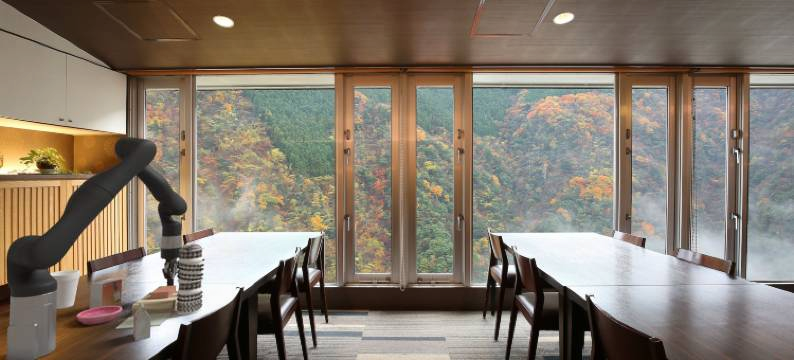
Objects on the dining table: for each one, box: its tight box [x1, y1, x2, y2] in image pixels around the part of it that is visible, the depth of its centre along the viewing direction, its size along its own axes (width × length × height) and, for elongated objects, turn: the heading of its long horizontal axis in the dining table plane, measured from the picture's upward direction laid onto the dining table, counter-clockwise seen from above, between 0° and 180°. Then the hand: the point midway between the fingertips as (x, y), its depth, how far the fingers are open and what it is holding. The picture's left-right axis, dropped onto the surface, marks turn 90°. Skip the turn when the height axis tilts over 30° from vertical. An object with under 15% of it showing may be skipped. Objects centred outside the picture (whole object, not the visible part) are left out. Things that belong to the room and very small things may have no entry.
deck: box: [131, 290, 178, 316], centre depth 139 cm, size 16×13×4 cm
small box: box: [89, 277, 123, 309], centre depth 138 cm, size 8×6×10 cm
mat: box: [115, 313, 173, 330], centre depth 125 cm, size 12×13×1 cm
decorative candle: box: [176, 244, 205, 316], centre depth 136 cm, size 9×9×25 cm
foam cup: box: [50, 269, 81, 310], centre depth 139 cm, size 10×9×13 cm
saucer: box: [76, 306, 123, 326], centre depth 126 cm, size 12×12×3 cm
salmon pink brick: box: [150, 285, 177, 299], centre depth 142 cm, size 9×6×2 cm, turn 15°
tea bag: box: [132, 302, 152, 342], centre depth 113 cm, size 4×7×10 cm, turn 42°
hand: (170, 287), depth 149 cm, fingers closed
